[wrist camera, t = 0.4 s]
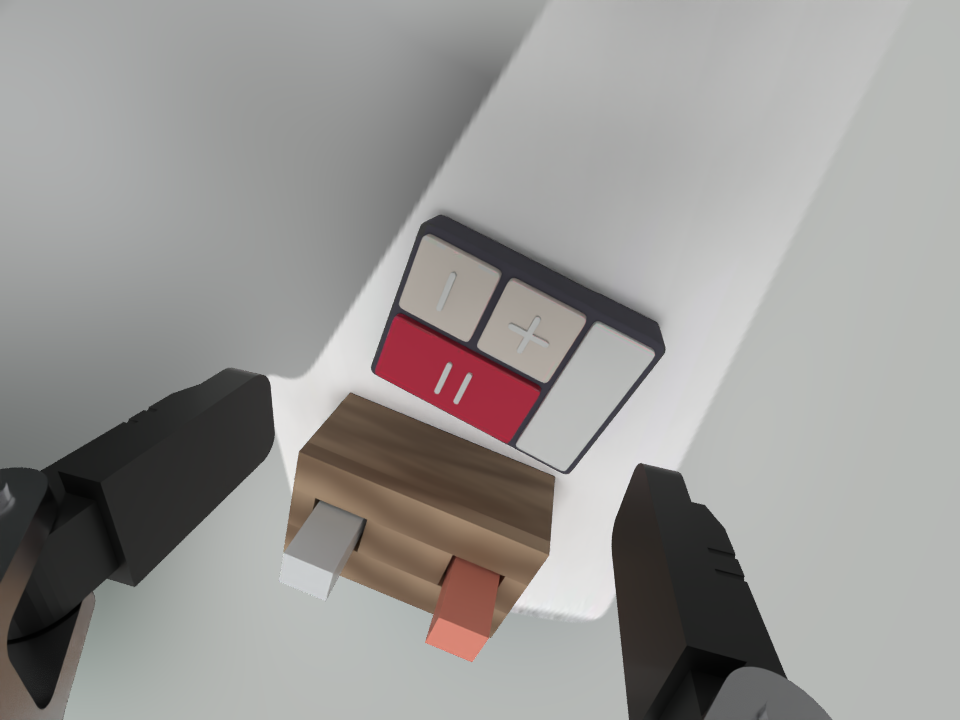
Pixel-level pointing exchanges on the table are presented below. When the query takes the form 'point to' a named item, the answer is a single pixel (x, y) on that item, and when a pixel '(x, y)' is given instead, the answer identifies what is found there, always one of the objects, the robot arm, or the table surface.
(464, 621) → the red plug
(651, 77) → the table surface
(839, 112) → the table surface
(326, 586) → the grey plug
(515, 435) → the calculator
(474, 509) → the block
